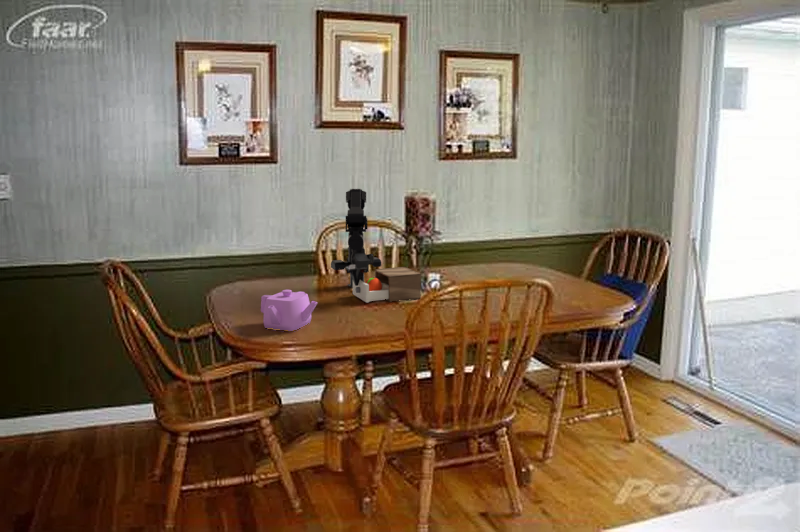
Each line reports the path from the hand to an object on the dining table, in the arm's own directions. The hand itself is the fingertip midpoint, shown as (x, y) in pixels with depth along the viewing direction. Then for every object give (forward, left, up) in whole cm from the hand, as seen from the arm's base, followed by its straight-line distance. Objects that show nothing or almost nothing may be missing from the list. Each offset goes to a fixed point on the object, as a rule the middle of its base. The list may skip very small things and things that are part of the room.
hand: (356, 285), depth 276 cm
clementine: (0, +6, -5) cm, 8 cm away
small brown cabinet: (0, +17, -6) cm, 18 cm away
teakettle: (+24, -33, -6) cm, 41 cm away
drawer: (0, +7, -5) cm, 9 cm away
